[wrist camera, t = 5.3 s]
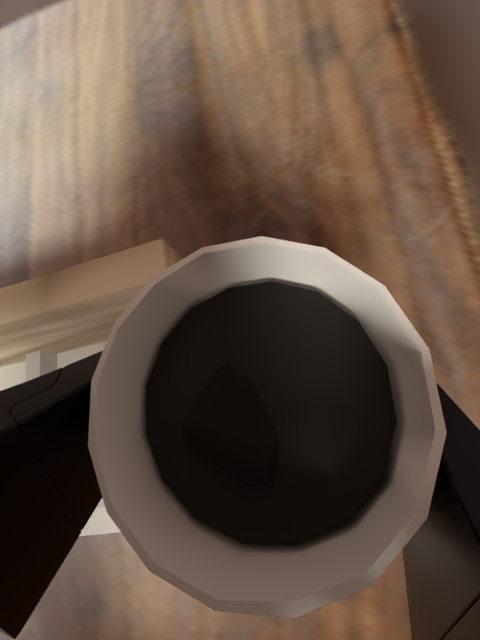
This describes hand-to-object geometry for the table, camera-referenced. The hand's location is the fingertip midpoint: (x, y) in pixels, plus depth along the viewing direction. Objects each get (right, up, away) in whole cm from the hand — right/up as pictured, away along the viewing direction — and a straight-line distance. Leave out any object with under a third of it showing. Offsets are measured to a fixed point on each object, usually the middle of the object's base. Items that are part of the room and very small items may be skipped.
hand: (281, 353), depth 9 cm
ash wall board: (-13, -1, +16) cm, 21 cm away
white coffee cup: (+2, -3, +6) cm, 7 cm away
